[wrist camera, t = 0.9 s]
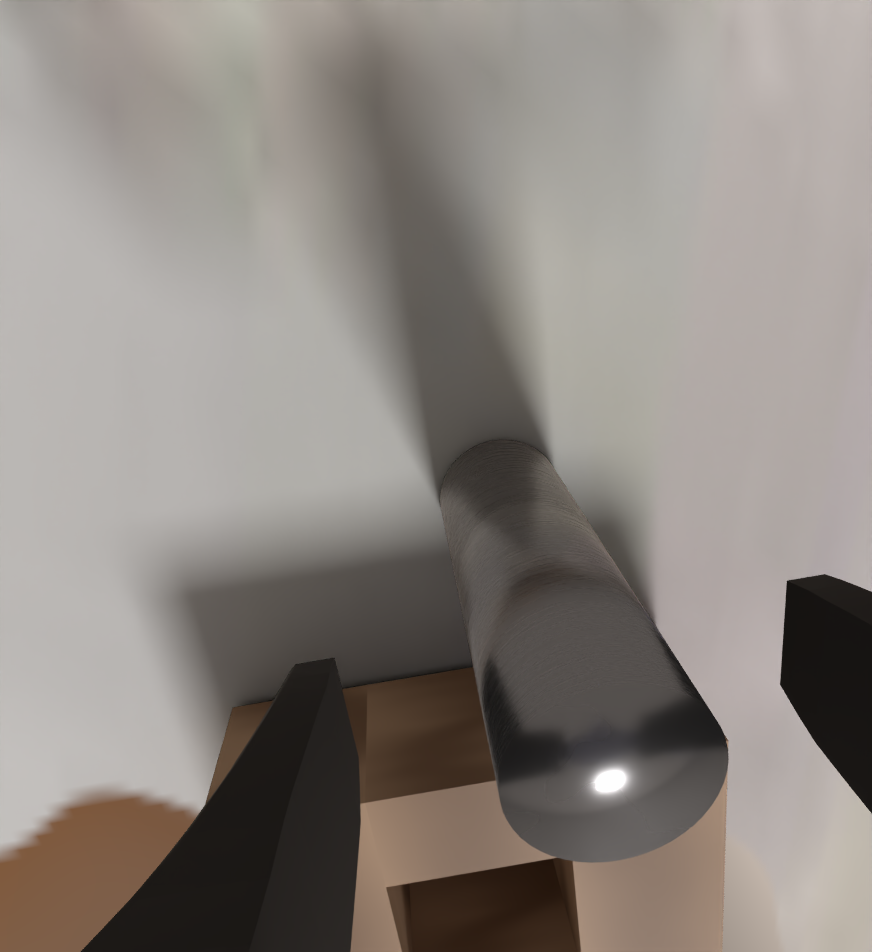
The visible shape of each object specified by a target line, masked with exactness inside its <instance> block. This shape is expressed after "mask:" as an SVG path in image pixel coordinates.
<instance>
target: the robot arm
mask: <svg viewBox="0 0 872 952" xmlns="http://www.w3.org/2000/svg"><path fill="white" fill-rule="evenodd" d="M780 685H781V687H782V688H783V690H784V692H785V694H786V695H787V697H788V699H789V700H790V702H791V704H792V706H793V707H794V709H795V711H796V712H797V714H798V716H799V717H800V719H801V720H802V722H803V724H804V725H805V727H806V728H807V730H808V731H809V733H810V735H811V736H812V738H813V739H814V741H815V742H816V744H817V745H818V746H819V748H820V749H821V750H822V752H823V753H824V754H825V755H826V757H827V758H828V759H829V760H830V762H831V763H832V764H833V766H834V767H835V768H836V769H837V771H838V772H839V773H840V774H841V776H842V777H843V778H844V779H845V781H846V782H847V783H848V784H849V786H850V787H851V788H852V790H853V791H854V792H855V793H856V794H857V796H858V797H859V798H860V799H861V801H862V802H863V803H864V804H865V806H866V807H867V808H868V809H869V811H870V812H871V813H872V592H871V591H868V590H866V589H863V588H861V587H858V586H856V585H853V584H851V583H848V582H845V581H843V580H840V579H837V578H834V577H831V576H828V575H825V574H824V575H818V576H812V577H806V578H800V579H794V580H789V581H787V588H786V604H785V619H784V635H783V650H782V665H781V681H780ZM360 826H361V808H360V776H359V756H358V752H357V748H356V744H355V740H354V736H353V732H352V728H351V724H350V720H349V716H348V711H347V707H346V703H345V699H344V695H343V691H342V687H341V683H340V679H339V675H338V671H337V666H336V662H335V658H330V659H324V660H318V661H312V662H307V663H301V664H296V665H295V666H294V667H293V668H292V670H291V671H290V672H289V674H288V676H287V678H286V679H285V681H284V683H283V685H282V686H281V688H280V690H279V692H278V693H277V695H276V697H275V698H274V700H273V702H272V704H271V705H270V707H269V709H268V710H267V712H266V714H265V715H264V717H263V719H262V720H261V722H260V724H259V725H258V727H257V729H256V730H255V732H254V733H253V735H252V737H251V738H250V740H249V741H248V743H247V744H246V746H245V747H244V749H243V751H242V752H241V754H240V755H239V757H238V758H237V760H236V761H235V763H234V765H233V766H232V768H231V769H230V771H229V772H228V774H227V775H226V777H225V778H224V780H223V781H222V782H221V784H220V785H219V787H218V788H217V789H216V791H215V792H214V794H213V795H212V796H211V798H210V799H209V801H208V802H207V803H206V805H205V806H204V807H203V809H202V810H201V812H200V813H199V814H198V816H197V817H196V819H195V820H194V821H193V823H192V824H191V826H190V827H189V828H188V830H187V831H186V832H185V834H184V835H183V836H182V837H181V839H180V840H179V841H178V842H177V844H176V845H175V846H174V848H173V849H172V850H171V851H170V853H169V854H168V855H167V856H166V858H165V859H164V860H163V861H162V862H161V864H160V865H159V866H158V867H157V869H156V870H155V871H154V872H153V873H152V874H151V876H150V877H149V878H148V879H147V880H146V882H145V883H144V884H143V885H142V887H141V888H140V889H139V890H138V891H137V892H136V893H135V894H134V896H133V897H132V898H131V899H130V900H129V901H128V902H127V903H126V904H125V905H124V907H123V908H122V909H121V910H120V911H119V912H118V913H117V914H116V915H115V916H114V917H113V918H112V919H111V920H110V921H109V922H108V924H107V925H106V926H105V927H104V928H103V929H102V930H101V931H100V932H99V933H98V934H97V935H96V936H95V937H94V938H93V940H91V941H90V942H89V944H88V945H87V946H86V947H85V948H84V949H83V950H82V951H81V952H351V940H352V927H353V915H354V903H355V891H356V879H357V866H358V853H359V840H360Z"/></svg>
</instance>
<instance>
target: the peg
mask: <svg viewBox="0 0 872 952" xmlns="http://www.w3.org/2000/svg"><path fill="white" fill-rule="evenodd" d="M440 505H441V511H442V516H443V521H444V526H445V530H446V535H447V540H448V545H449V550H450V555H451V560H452V565H453V570H454V575H455V580H456V585H457V590H458V595H459V600H460V605H461V610H462V615H463V620H464V625H465V630H466V635H467V640H468V645H469V650H470V655H471V660H472V665H473V669H474V674H475V679H476V684H477V689H478V694H479V699H480V704H481V709H482V714H483V719H484V724H485V729H486V734H487V739H488V744H489V749H490V754H491V759H492V764H493V769H494V774H495V779H496V784H497V789H498V794H499V799H500V803H501V807H502V811H503V813H504V815H505V817H506V820H507V821H508V823H509V824H510V826H511V827H512V829H513V830H514V831H515V832H516V833H517V834H518V836H519V837H520V838H522V839H523V840H524V841H525V842H527V843H528V844H529V845H531V846H532V847H534V848H536V849H537V850H539V851H541V852H543V853H546V854H548V855H551V856H554V857H557V858H561V859H564V860H570V861H576V862H588V863H596V862H611V861H618V860H623V859H628V858H632V857H636V856H639V855H642V854H645V853H648V852H650V851H653V850H655V849H657V848H660V847H662V846H664V845H665V844H667V843H669V842H671V841H673V840H674V839H676V838H677V837H679V836H680V835H682V834H683V833H685V832H686V831H687V830H688V829H690V828H691V827H692V826H693V825H695V824H696V823H697V822H698V821H699V820H700V819H701V818H702V817H703V816H704V815H705V813H706V812H707V811H708V810H709V808H710V807H711V806H712V804H713V803H714V801H715V800H716V798H717V796H718V795H719V793H720V790H721V788H722V786H723V784H724V781H725V777H726V774H727V768H728V747H727V743H726V739H725V736H724V733H723V731H722V729H721V727H720V725H719V724H718V722H717V720H716V719H715V717H714V716H713V714H712V713H711V711H710V710H709V708H708V706H707V705H706V703H705V702H704V700H703V699H702V697H701V696H700V694H699V693H698V691H697V689H696V688H695V686H694V685H693V683H692V682H691V680H690V679H689V677H688V675H687V674H686V672H685V671H684V669H683V668H682V666H681V665H680V663H679V661H678V660H677V658H676V657H675V655H674V654H673V652H672V651H671V649H670V648H669V646H668V644H667V643H666V641H665V640H664V638H663V637H662V635H661V634H660V632H659V630H658V629H657V627H656V626H655V624H654V623H653V621H652V620H651V618H650V617H649V615H648V613H647V612H646V610H645V609H644V607H643V606H642V604H641V603H640V601H639V599H638V598H637V596H636V595H635V593H634V592H633V590H632V589H631V587H630V585H629V584H628V582H627V581H626V579H625V578H624V576H623V575H622V573H621V572H620V570H619V568H618V567H617V565H616V564H615V562H614V561H613V559H612V558H611V556H610V554H609V553H608V551H607V550H606V548H605V547H604V545H603V544H602V542H601V541H600V539H599V537H598V536H597V534H596V533H595V531H594V530H593V528H592V527H591V525H590V523H589V522H588V520H587V519H586V517H585V516H584V514H583V513H582V511H581V509H580V508H579V506H578V505H577V503H576V502H575V500H574V499H573V497H572V496H571V494H570V492H569V491H568V489H567V488H566V486H565V485H564V483H563V482H562V480H561V478H560V477H559V475H558V474H557V472H556V471H555V469H554V468H553V466H552V465H551V463H550V462H549V460H548V459H547V458H546V457H545V456H544V455H543V454H542V453H541V452H540V451H538V450H537V449H535V448H533V447H532V446H530V445H527V444H525V443H522V442H518V441H513V440H494V441H489V442H485V443H482V444H479V445H477V446H475V447H473V448H471V449H469V450H468V451H466V452H465V453H463V454H462V455H461V456H460V457H459V458H458V459H457V460H456V461H455V462H454V463H453V464H452V466H451V467H450V468H449V470H448V472H447V474H446V476H445V477H444V480H443V483H442V487H441V492H440Z"/></svg>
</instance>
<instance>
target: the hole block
mask: <svg viewBox="0 0 872 952" xmlns="http://www.w3.org/2000/svg"><path fill="white" fill-rule="evenodd" d="M342 691H343V695H344V699H345V703H346V707H347V711H348V716H349V720H350V724H351V728H352V732H353V736H354V740H355V744H356V748H357V752H358V756H359V776H360V808H361V826H360V840H359V853H358V866H357V879H356V891H355V903H354V915H353V927H352V940H351V952H722V941H723V907H724V871H725V837H726V803H727V774H726V777H725V781H724V784H723V786H722V788H721V790H720V793H719V795H718V796H717V798H716V800H715V801H714V803H713V804H712V806H711V807H710V808H709V810H708V811H707V812H706V813H705V815H704V816H703V817H702V818H701V819H700V820H699V821H698V822H697V823H696V824H695V825H693V826H692V827H691V828H690V829H688V830H687V831H686V832H685V833H683V834H682V835H680V836H679V837H677V838H676V839H674V840H673V841H671V842H669V843H667V844H665V845H664V846H662V847H660V848H657V849H655V850H653V851H650V852H648V853H645V854H642V855H639V856H636V857H632V858H628V859H623V860H618V861H611V862H596V863H588V862H576V861H570V860H564V859H561V858H557V857H554V856H551V855H548V854H546V853H543V852H541V851H539V850H537V849H536V848H534V847H532V846H531V845H529V844H528V843H527V842H525V841H524V840H523V839H522V838H520V837H519V836H518V834H517V833H516V832H515V831H514V830H513V829H512V827H511V826H510V824H509V823H508V821H507V820H506V817H505V815H504V813H503V811H502V807H501V803H500V799H499V794H498V789H497V784H496V779H495V774H494V769H493V764H492V759H491V754H490V749H489V744H488V739H487V734H486V729H485V724H484V719H483V714H482V709H481V704H480V699H479V694H478V689H477V684H476V679H475V674H474V669H473V667H471V668H465V669H459V670H453V671H447V672H441V673H435V674H429V675H423V676H417V677H411V678H405V679H399V680H393V681H387V682H381V683H375V684H369V685H363V686H357V687H352V688H346V689H342ZM272 702H273V701H268V702H262V703H256V704H250V705H244V706H238V707H233V708H232V712H231V715H230V719H229V722H228V726H227V729H226V733H225V737H224V740H223V744H222V747H221V751H220V754H219V758H218V761H217V765H216V768H215V772H214V775H213V779H212V783H211V786H210V790H209V793H208V797H207V800H206V803H207V802H208V801H209V799H210V798H211V796H212V795H213V794H214V792H215V791H216V789H217V788H218V787H219V785H220V784H221V782H222V781H223V780H224V778H225V777H226V775H227V774H228V772H229V771H230V769H231V768H232V766H233V765H234V763H235V761H236V760H237V758H238V757H239V755H240V754H241V752H242V751H243V749H244V747H245V746H246V744H247V743H248V741H249V740H250V738H251V737H252V735H253V733H254V732H255V730H256V729H257V727H258V725H259V724H260V722H261V720H262V719H263V717H264V715H265V714H266V712H267V710H268V709H269V707H270V705H271V704H272ZM724 736H725V735H724ZM725 739H726V743H727V747H728V740H727V738H726V736H725ZM205 805H206V804H205Z"/></svg>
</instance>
